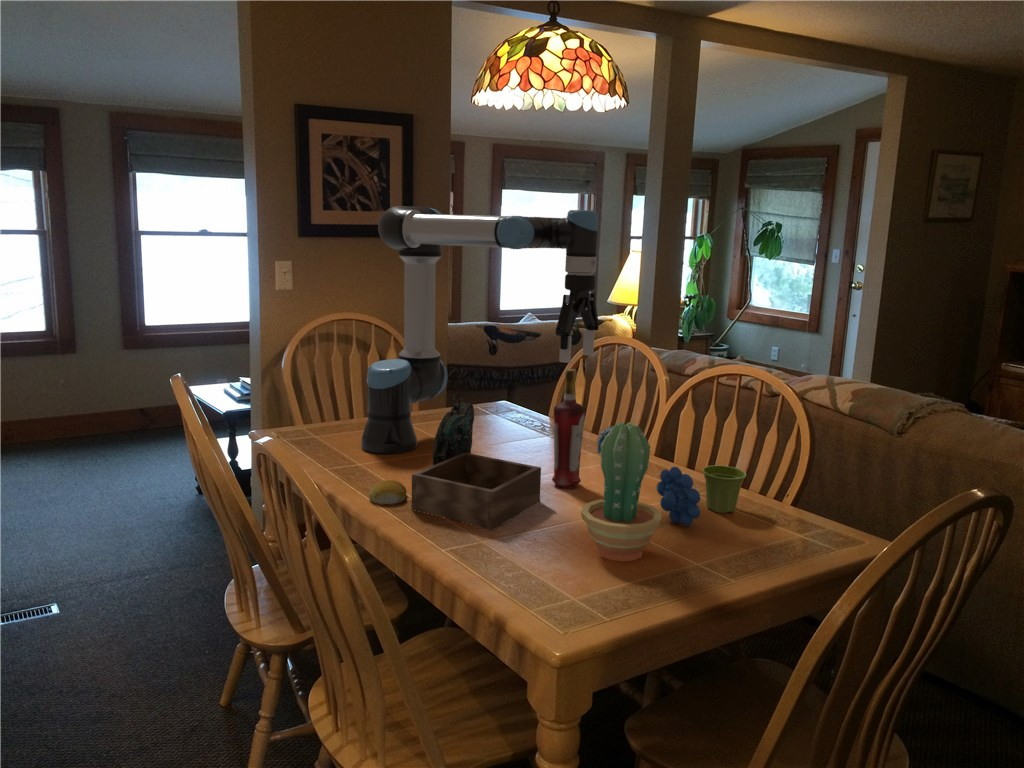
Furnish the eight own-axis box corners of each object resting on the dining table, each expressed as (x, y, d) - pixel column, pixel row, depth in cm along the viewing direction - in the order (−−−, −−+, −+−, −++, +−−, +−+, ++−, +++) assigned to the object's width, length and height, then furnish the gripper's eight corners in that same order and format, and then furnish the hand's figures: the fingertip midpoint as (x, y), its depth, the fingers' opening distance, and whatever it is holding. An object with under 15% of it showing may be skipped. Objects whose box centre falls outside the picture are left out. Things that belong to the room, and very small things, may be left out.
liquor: (556, 478, 196) (560, 366, 191) (585, 482, 194) (590, 369, 188) (546, 487, 190) (551, 371, 184) (576, 491, 187) (581, 374, 181)
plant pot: (744, 505, 181) (747, 468, 180) (741, 519, 173) (745, 480, 171) (702, 499, 184) (704, 463, 183) (697, 512, 176) (700, 474, 174)
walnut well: (411, 510, 172) (411, 474, 171) (463, 484, 190) (464, 452, 188) (492, 530, 162) (493, 492, 161) (539, 501, 180) (541, 467, 178)
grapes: (641, 518, 171) (645, 464, 169) (663, 512, 175) (667, 459, 173) (683, 536, 162) (687, 479, 160) (705, 529, 166) (710, 473, 164)
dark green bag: (455, 463, 207) (457, 387, 203) (479, 465, 205) (481, 389, 201) (427, 486, 188) (427, 403, 184) (453, 489, 186) (454, 405, 182)
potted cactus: (651, 536, 161) (659, 416, 156) (667, 569, 146) (677, 436, 141) (575, 535, 161) (580, 414, 156) (583, 567, 146) (589, 435, 141)
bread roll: (406, 492, 184) (406, 475, 184) (406, 505, 176) (406, 488, 175) (370, 492, 183) (370, 475, 183) (367, 506, 175) (367, 488, 174)
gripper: (572, 276, 185) (568, 367, 190) (614, 272, 207) (609, 353, 211) (543, 275, 189) (540, 363, 193) (587, 271, 210) (584, 351, 214)
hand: (576, 358), depth 202 cm, fingers open, 13 cm apart
